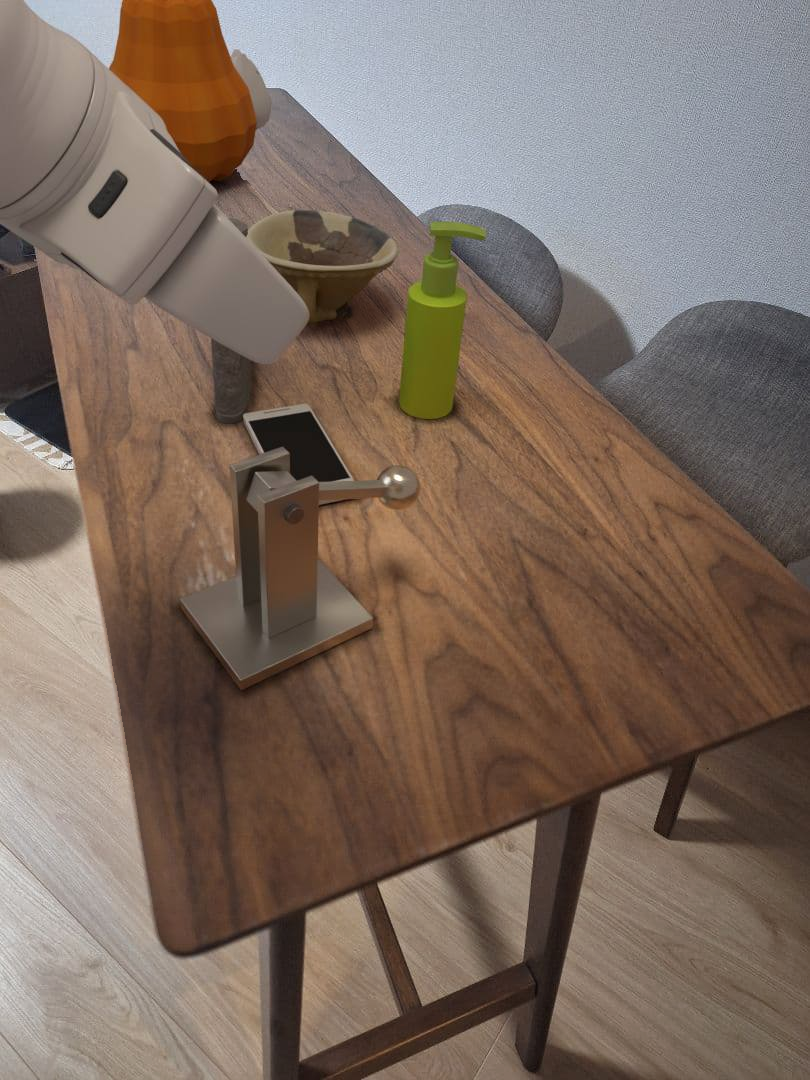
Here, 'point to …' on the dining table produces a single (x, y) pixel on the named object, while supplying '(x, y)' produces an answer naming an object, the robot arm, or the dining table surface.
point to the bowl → (323, 256)
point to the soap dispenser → (435, 327)
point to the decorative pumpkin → (187, 80)
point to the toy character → (253, 86)
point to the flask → (231, 373)
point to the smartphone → (298, 442)
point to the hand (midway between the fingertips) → (260, 309)
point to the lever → (349, 487)
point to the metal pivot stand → (274, 582)
